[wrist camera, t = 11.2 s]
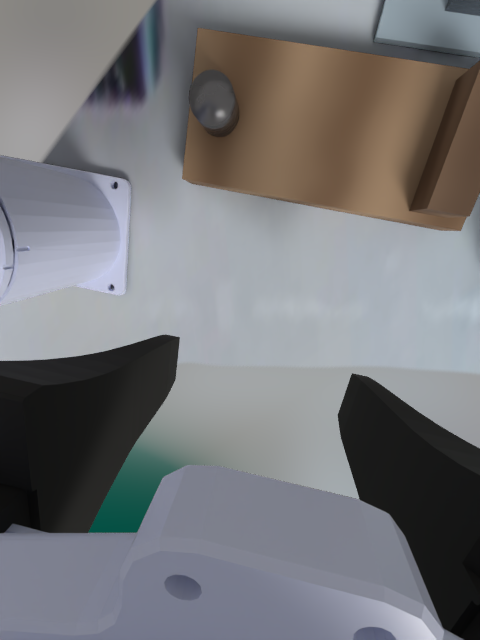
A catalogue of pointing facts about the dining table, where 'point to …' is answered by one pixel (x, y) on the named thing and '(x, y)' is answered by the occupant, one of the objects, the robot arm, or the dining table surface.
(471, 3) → the dark grey block
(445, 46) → the blue-grey mat
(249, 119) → the body
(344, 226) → the dining table surface
